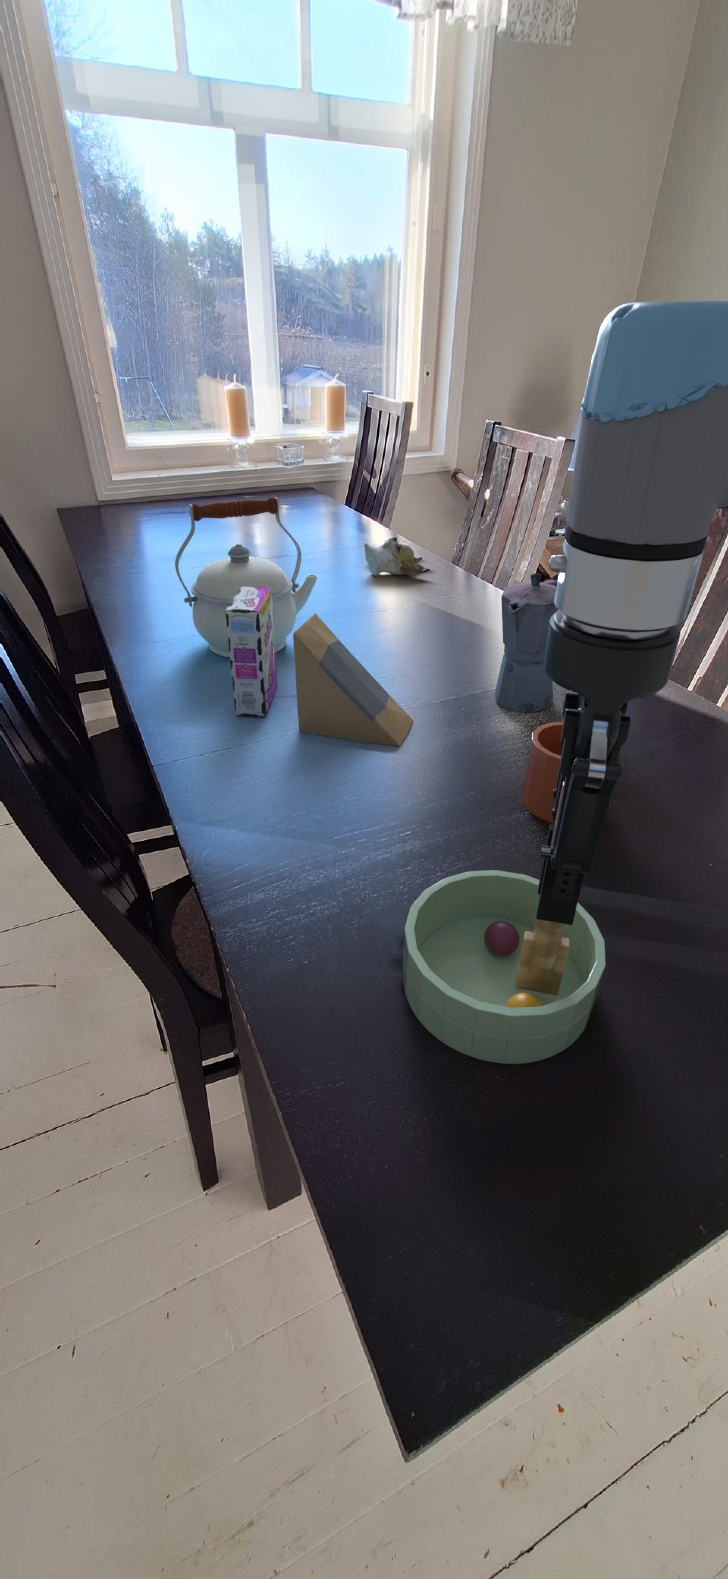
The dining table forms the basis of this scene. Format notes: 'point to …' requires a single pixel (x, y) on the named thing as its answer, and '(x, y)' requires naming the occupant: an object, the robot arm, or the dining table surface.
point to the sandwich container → (341, 691)
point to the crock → (543, 770)
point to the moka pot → (526, 645)
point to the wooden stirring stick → (543, 953)
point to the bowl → (494, 970)
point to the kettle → (242, 578)
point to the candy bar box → (252, 650)
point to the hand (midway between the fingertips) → (554, 905)
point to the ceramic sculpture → (393, 558)
